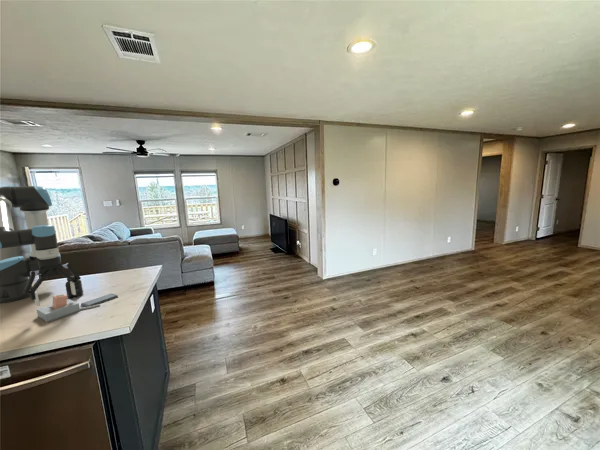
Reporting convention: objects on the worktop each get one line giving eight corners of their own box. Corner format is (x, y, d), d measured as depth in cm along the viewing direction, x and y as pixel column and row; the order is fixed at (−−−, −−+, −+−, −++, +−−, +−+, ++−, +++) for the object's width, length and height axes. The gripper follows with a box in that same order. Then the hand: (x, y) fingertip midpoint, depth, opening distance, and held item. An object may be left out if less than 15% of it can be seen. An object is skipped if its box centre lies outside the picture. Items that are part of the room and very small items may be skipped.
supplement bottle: (73, 299, 136) (70, 278, 135) (64, 298, 138) (60, 278, 136) (86, 294, 143) (83, 274, 141) (77, 293, 145) (74, 274, 143)
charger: (52, 312, 119) (52, 295, 119) (63, 310, 122) (63, 293, 122) (55, 314, 117) (56, 296, 117) (66, 311, 120) (67, 294, 120)
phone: (81, 305, 128) (80, 303, 128) (111, 295, 140) (111, 293, 140) (87, 308, 125) (86, 306, 125) (117, 297, 137) (117, 295, 137)
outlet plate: (38, 316, 117) (36, 309, 117) (70, 306, 128) (68, 299, 127) (47, 322, 112) (45, 314, 111) (80, 310, 122) (78, 303, 121)
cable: (79, 310, 122) (78, 308, 122) (79, 309, 123) (79, 308, 123) (100, 306, 126) (100, 304, 126) (100, 305, 127) (100, 303, 127)
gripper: (12, 265, 103) (22, 312, 106) (84, 251, 125) (91, 291, 128) (7, 263, 107) (16, 309, 110) (78, 250, 128) (84, 288, 131)
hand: (56, 299), depth 119 cm, fingers open, 12 cm apart
